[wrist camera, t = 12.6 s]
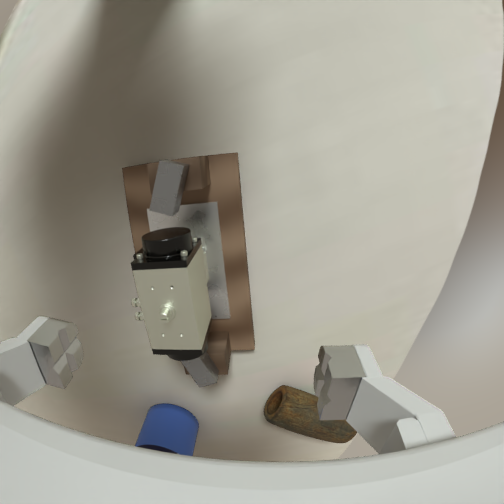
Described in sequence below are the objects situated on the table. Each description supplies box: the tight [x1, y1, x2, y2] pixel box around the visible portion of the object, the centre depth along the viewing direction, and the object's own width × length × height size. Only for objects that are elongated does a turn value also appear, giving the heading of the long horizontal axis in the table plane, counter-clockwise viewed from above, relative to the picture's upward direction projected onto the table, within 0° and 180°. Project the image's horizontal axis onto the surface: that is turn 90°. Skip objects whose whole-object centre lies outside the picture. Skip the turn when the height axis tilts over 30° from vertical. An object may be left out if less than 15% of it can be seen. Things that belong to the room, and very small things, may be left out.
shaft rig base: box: [122, 153, 255, 375], centre depth 34 cm, size 24×13×6 cm, turn 5°
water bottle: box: [135, 404, 199, 456], centre depth 34 cm, size 9×9×25 cm
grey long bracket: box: [147, 160, 231, 387], centre depth 32 cm, size 24×8×7 cm, turn 5°
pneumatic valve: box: [131, 227, 212, 361], centre depth 29 cm, size 6×12×12 cm, turn 4°
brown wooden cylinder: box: [264, 385, 357, 443], centre depth 41 cm, size 15×7×7 cm, turn 61°
